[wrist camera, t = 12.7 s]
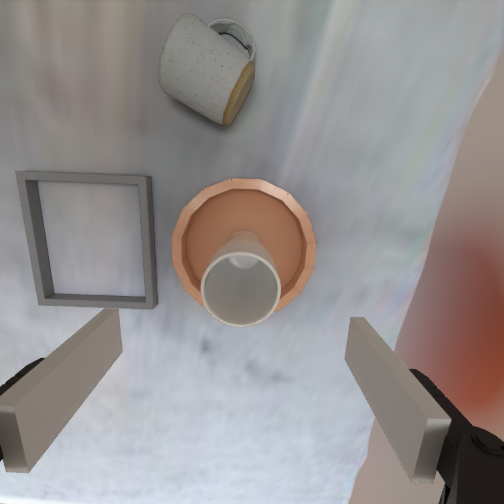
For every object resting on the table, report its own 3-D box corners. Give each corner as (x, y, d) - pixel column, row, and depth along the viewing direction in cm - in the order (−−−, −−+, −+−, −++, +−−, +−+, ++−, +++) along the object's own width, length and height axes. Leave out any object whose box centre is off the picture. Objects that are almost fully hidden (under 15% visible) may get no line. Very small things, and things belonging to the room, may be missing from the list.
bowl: (176, 176, 34) (169, 175, 31) (316, 182, 34) (322, 181, 31) (180, 305, 38) (174, 315, 35) (304, 310, 39) (308, 320, 36)
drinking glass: (220, 223, 35) (198, 249, 20) (270, 225, 35) (285, 252, 20) (219, 271, 36) (199, 327, 22) (267, 272, 37) (279, 329, 22)
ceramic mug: (230, 136, 33) (224, 119, 25) (170, 101, 32) (147, 73, 24) (271, 52, 31) (279, 7, 23) (209, 12, 30) (197, -49, 22)
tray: (27, 171, 34) (15, 170, 32) (151, 176, 34) (145, 176, 32) (48, 299, 38) (38, 305, 36) (157, 303, 38) (153, 309, 37)
